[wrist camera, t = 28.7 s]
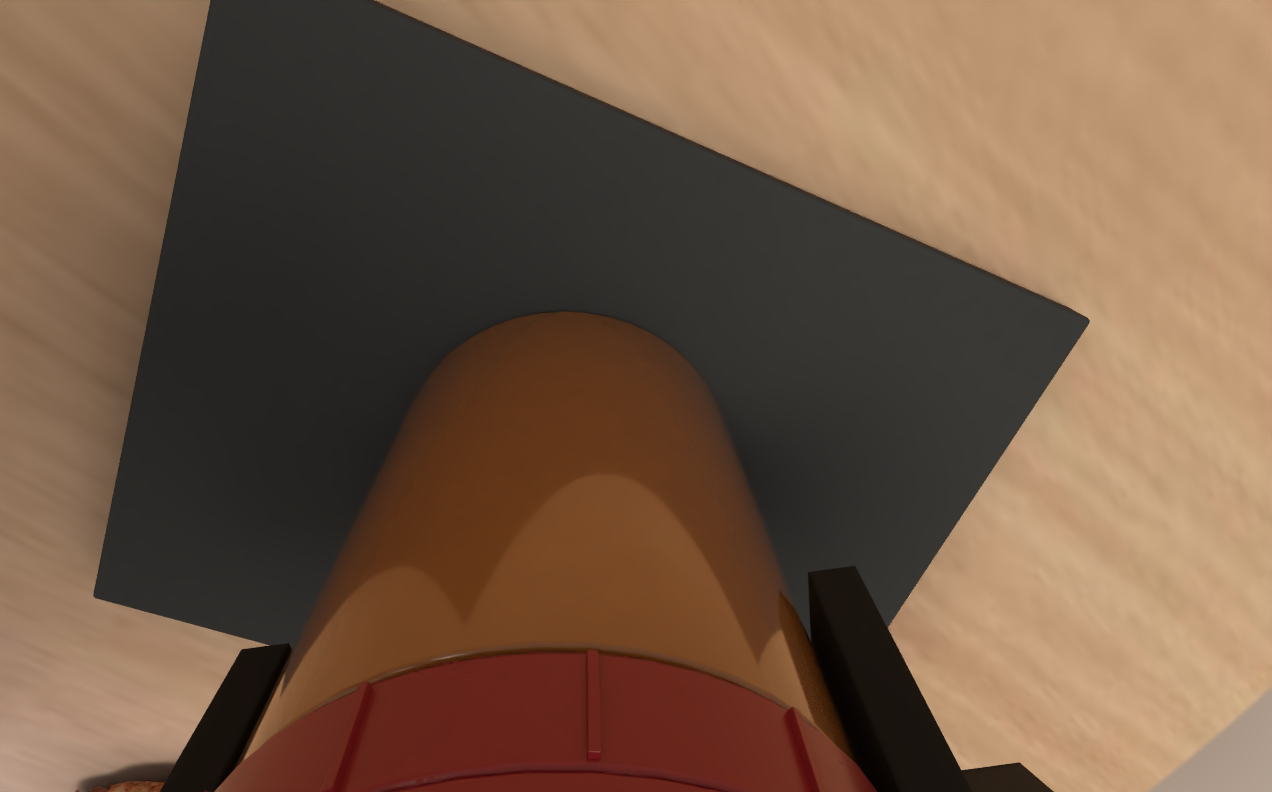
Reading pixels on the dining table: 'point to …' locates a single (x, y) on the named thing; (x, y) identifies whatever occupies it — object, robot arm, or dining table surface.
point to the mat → (519, 312)
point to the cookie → (131, 787)
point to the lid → (550, 734)
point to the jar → (557, 529)
